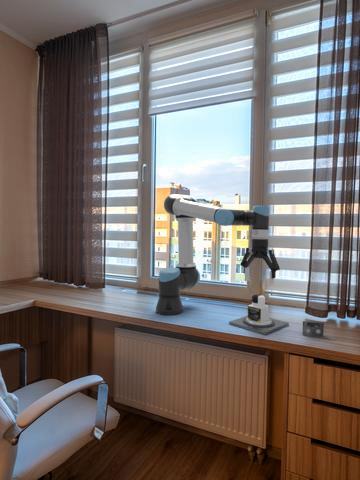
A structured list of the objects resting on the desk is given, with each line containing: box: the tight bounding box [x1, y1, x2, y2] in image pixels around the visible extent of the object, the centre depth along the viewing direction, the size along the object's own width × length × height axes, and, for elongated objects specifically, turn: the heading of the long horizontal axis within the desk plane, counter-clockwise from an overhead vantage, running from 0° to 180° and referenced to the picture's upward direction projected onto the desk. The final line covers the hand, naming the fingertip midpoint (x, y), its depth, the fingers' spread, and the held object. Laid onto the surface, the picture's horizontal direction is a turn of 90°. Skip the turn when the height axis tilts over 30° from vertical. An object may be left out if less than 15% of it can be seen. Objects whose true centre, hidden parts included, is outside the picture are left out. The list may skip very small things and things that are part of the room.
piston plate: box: [228, 315, 289, 336], centre depth 149 cm, size 20×20×2 cm
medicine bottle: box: [247, 294, 270, 323], centre depth 149 cm, size 7×7×12 cm
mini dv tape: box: [301, 320, 325, 338], centre depth 135 cm, size 8×2×6 cm, turn 75°
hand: (258, 282), depth 149 cm, fingers open, 13 cm apart
